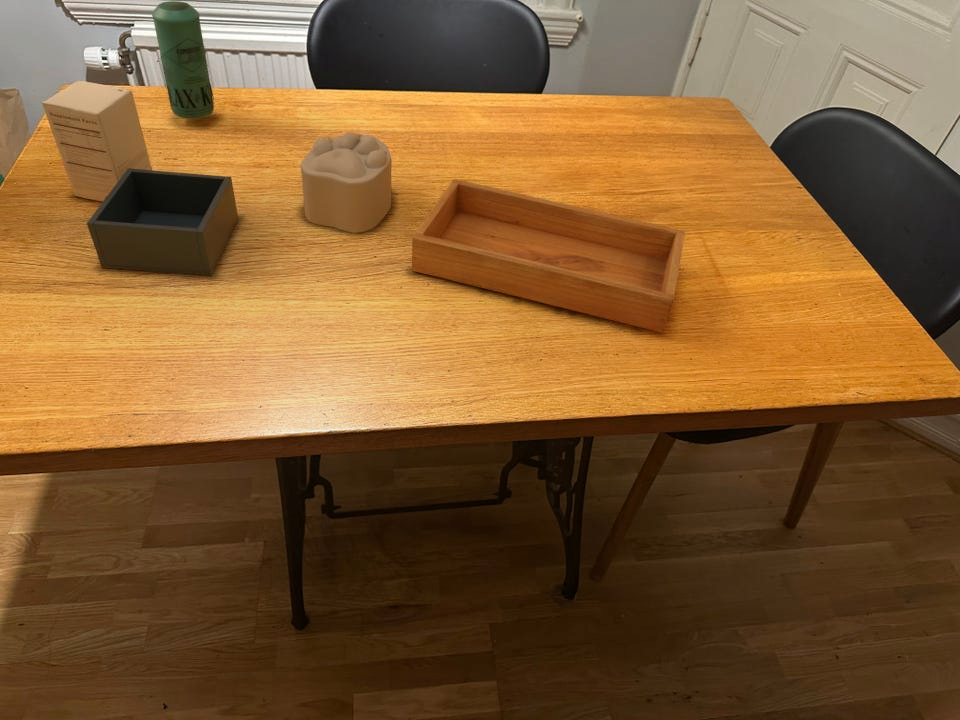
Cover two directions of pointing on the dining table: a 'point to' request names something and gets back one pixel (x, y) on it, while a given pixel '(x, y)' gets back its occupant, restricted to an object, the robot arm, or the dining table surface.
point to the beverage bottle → (183, 59)
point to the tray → (551, 253)
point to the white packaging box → (96, 136)
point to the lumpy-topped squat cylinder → (347, 182)
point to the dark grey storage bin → (164, 222)
